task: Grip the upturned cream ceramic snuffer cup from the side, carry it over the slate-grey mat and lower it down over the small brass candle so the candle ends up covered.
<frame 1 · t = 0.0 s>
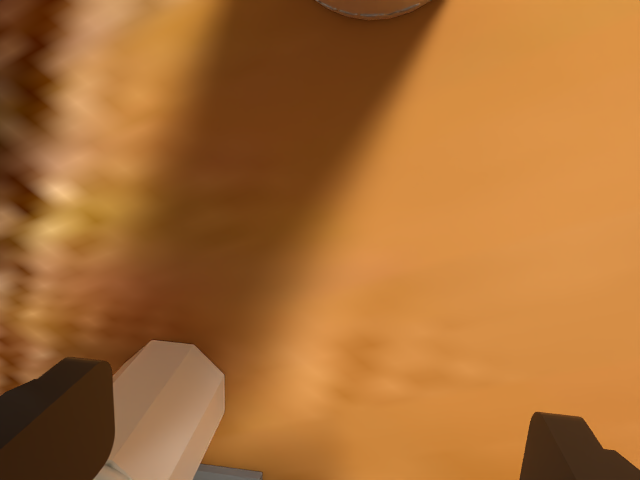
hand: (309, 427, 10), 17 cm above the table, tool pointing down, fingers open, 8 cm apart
snuffer cup: (174, 387, 31), on the table
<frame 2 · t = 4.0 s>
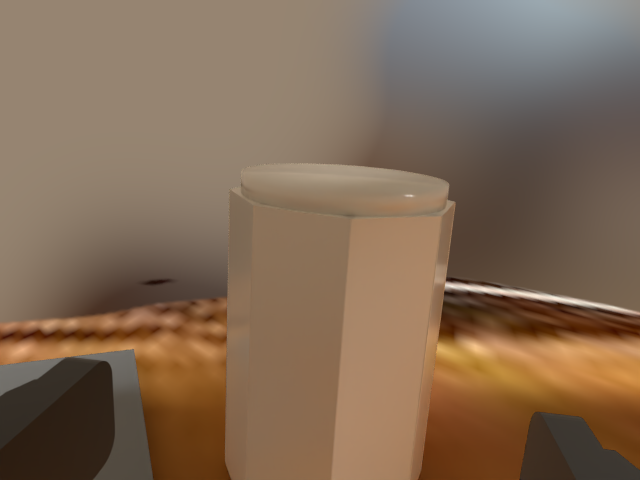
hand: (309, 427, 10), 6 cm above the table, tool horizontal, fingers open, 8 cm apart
snuffer cup: (323, 467, 17), on the table
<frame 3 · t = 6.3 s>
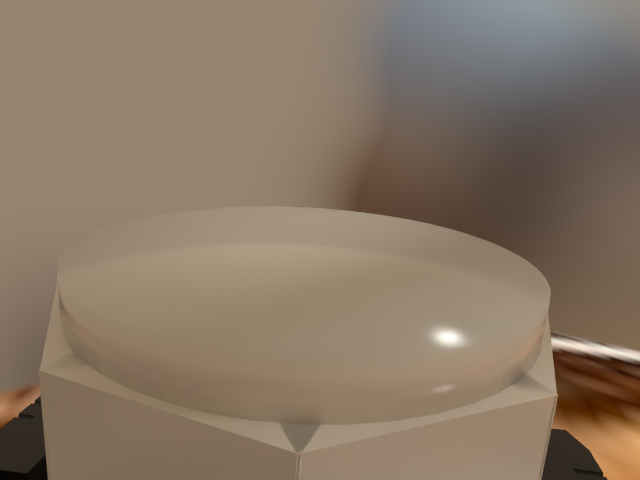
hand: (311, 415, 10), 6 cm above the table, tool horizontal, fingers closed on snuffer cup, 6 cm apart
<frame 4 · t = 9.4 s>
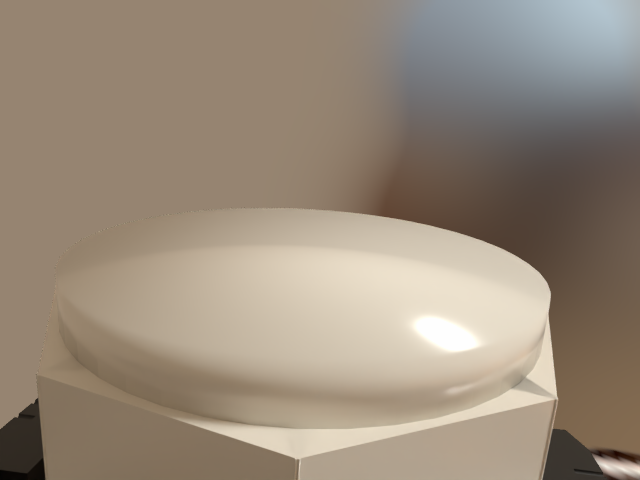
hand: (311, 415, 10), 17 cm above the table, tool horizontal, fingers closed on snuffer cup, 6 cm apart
when the fingers open (8 cm above the table, at t = 12.4 s): snuffer cup drops 1 cm, resting on slate mat.
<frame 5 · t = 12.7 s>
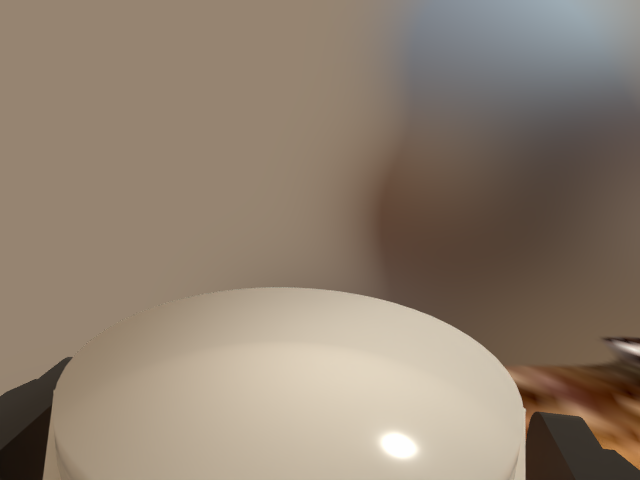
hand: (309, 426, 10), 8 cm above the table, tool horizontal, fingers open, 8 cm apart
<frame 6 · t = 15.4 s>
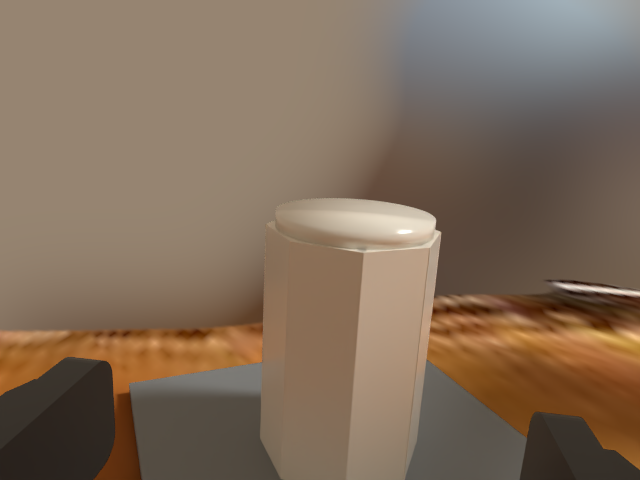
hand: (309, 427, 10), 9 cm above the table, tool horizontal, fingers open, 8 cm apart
snuffer cup: (338, 440, 22), point 1 cm above the table, touching slate mat
slate mat: (338, 451, 22), on the table
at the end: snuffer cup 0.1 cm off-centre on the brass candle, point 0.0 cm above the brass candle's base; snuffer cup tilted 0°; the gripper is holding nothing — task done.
